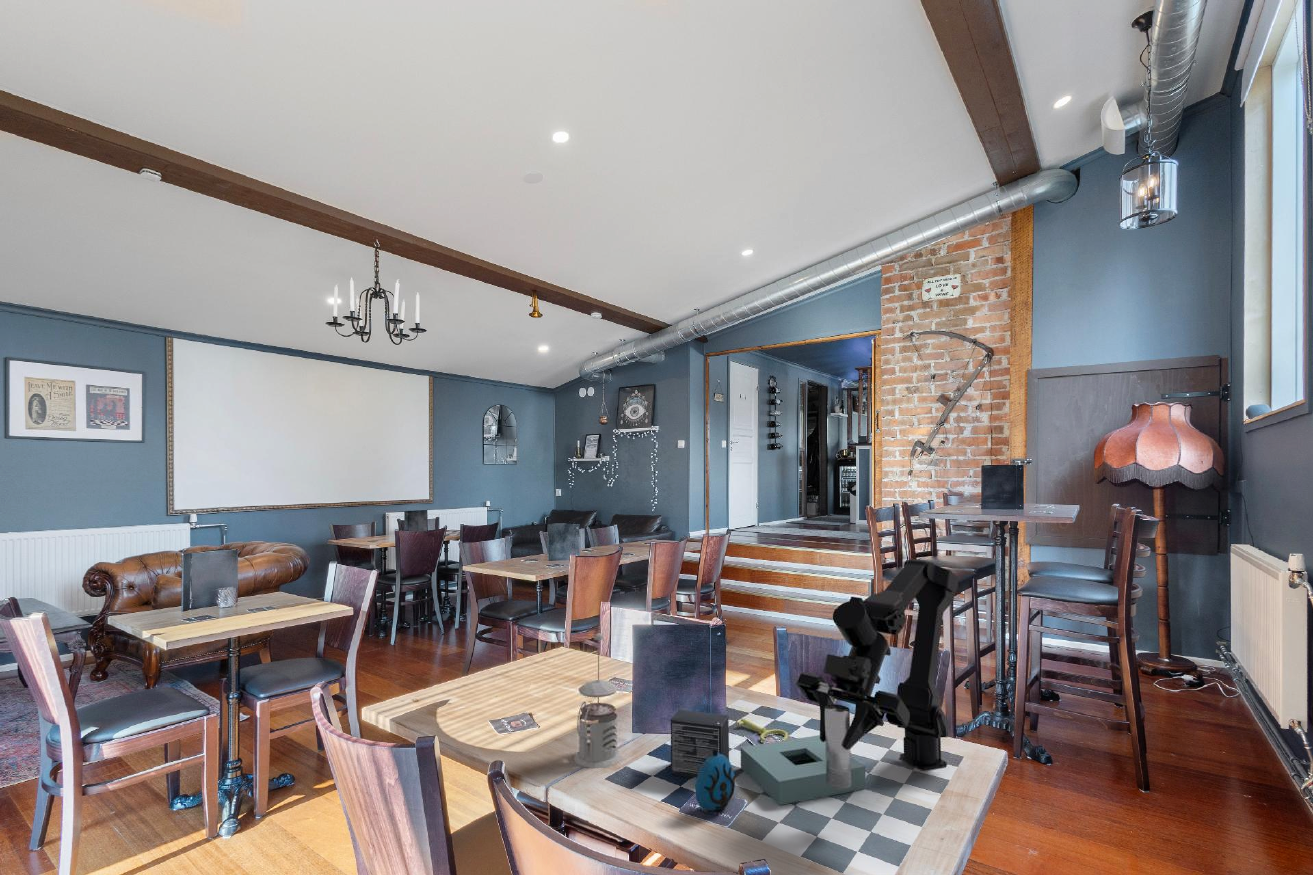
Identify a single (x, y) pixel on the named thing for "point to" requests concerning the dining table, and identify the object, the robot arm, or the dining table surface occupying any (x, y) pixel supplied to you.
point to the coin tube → (837, 746)
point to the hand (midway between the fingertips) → (833, 744)
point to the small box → (696, 740)
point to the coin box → (795, 770)
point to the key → (761, 729)
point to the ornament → (715, 782)
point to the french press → (597, 725)
